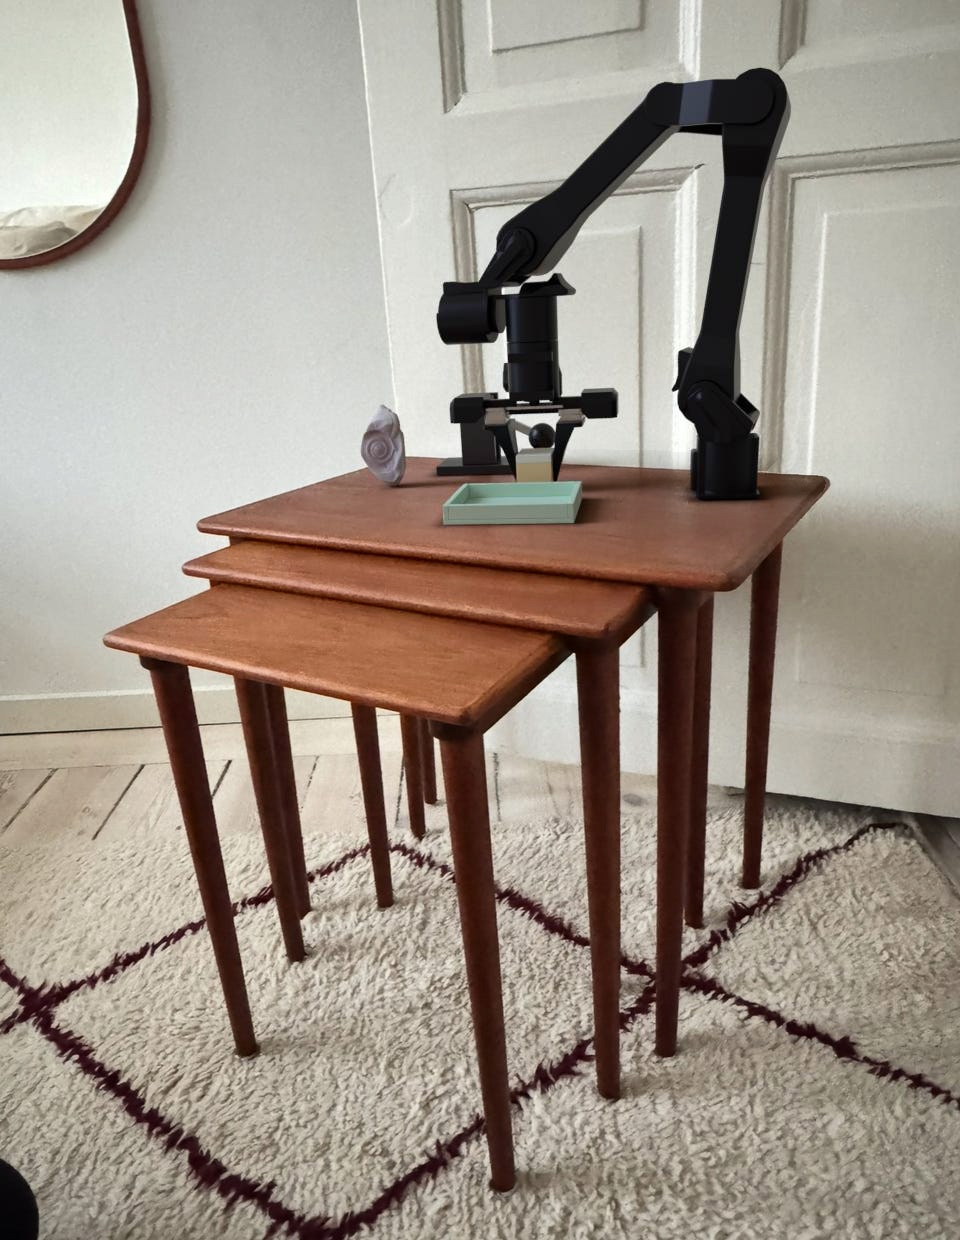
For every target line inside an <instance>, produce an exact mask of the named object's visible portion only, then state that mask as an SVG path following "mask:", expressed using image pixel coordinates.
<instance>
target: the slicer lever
mask: <svg viewBox="0 0 960 1240" xmlns="http://www.w3.org/2000/svg"><path fill="white" fill-rule="evenodd" d="M510 419H513V417H510ZM515 426H516V432H519V433H521V434H523V435H526V436H527V437H528V438H527V439H528V442H529V445H530V446H531V448H553V447H554V444H555V431H556V429H555V428H554V427H553V426H552V425H551V424H548V423H546V422H539V423H536V424H534V425H533V426H529V425H527V424H525V423H524V422H521V421H518V420H517V419H515Z"/></svg>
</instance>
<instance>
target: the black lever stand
mask: <svg viewBox="0 0 960 1240" xmlns="http://www.w3.org/2000/svg"><path fill="white" fill-rule="evenodd" d="M472 393H473V392H468V393H467V392H466V393H465V394H472ZM488 393H490V395H491V399H500V397H499V392H498V391H493V392H488ZM483 425H485V419H484V417H482V418H481V419H480V420H479V421H478V422H477V423H459V431H460V432H459V433H460V445H461V446H460V447H461V448H460V449H461V456H458V457H457V456H455V457H447V458H445V459H444V460H443V461H442V462H441V463H439V464H438V465H436V468H435V469H436V476H437V477H442V476H443V477H444V476H487V475H513V473H512V470H511V468H510V465H509V463H508V461H507V458H506V456H505V455H502V448H501V446H500V444H499V443H498V441H497V439H496V438H495V436H494V434H493V432H492V431H491V430H484V429H483Z"/></svg>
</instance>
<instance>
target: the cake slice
mask: <svg viewBox="0 0 960 1240" xmlns="http://www.w3.org/2000/svg"><path fill="white" fill-rule="evenodd" d="M518 452H519V453H518V454H517V455H516V463H517V464H516V469H517V482H516V483H521V482H554V479H553V457H554V447H551V448H533V447H531V448H529V447H527V448H526V447H525V448H521V449H520V450H519V451H518Z"/></svg>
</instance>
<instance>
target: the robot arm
mask: <svg viewBox="0 0 960 1240" xmlns="http://www.w3.org/2000/svg"><path fill="white" fill-rule="evenodd" d="M791 114H792V104H791V100H790V95H789V92H788V89H787V86H786V83H785V82H784V80H783V79H782V77H781V76H780V75H779V74H778V73H777V72H775V71H774V70H773V69H770V68H766V67H755V68H749V69H747V70H745V71H744V72H742V73H740V74H739V75H738V76H737V77H736V78H712V79H704V80H703V79H702V80H697V81H696V80H695V81H687V82H672V81H662V82H659V83H657V84H656V85H654V86H653V87H651V89H649V90H648V92H647V93H646V96H645V98H644V99H643V100H642V101H641V102H640V103H639V104H638V105H637V106H636V107H635V108H634V110H633V111H631V113H630V114H629V115H628V116H627V117H626V118H625V119H624V120H623V121H622V122H621V123H620V124H619V125H618V126H617V127H616V128H615V129H614V130H613V131H612V132H611V133H610V134H609V135H608V136H606V137H607V138H605V139H604V140H603V141H602V142H601V143H600V144H599V145H598V146H597V147H596V148H595V150H593V152H591V153H590V155H589V156H588V157H587V158H586V159H585V160H584V161H583V162H581V164H580V165H579V166H578V167H577V168H576V169H575V170H574V171H573V172H572V173H571V174H570V175H569V176H568V177H567V178H566V179H565V180H564V181H563V182H562V183H561V184H560V185H559V187H557V188H556V189H554V190H553V191H551V192H550V193H548V194H547V195H545V196H544V197H542V198H540V199H538V200H536V201H534V202H533V203H531V204H529V205H528V206H527V207H525V208H524V209H523V210H521V211H520V212H518V213H517V214H515V215H514V216H513V217H511V218H510V219H508V220H507V221H506V222H505V223H504V224H503V225H502V226H501V228H500V229H499V230H498V233H497V234H496V238H495V240H496V246H495V252H494V253H493V255H492V257H491V259H490V261H489V262H488V264H487V266H486V267H485V269H484V271H483V273H482V275H481V277H480V278H479V280H478V281H469V282H464V281H444V282H443V283H442V295H441V297H439V298H440V299H439V302H438V307H437V313H436V314H435V318H436V327H437V332H438V335H439V338H440V339H441V341H442V343H443V344H444V345H447V346H450V345H452V346H455V345H479V344H480V345H481V344H495V342H497V340H498V338H499V335H500V334H503V333H504V332H505V334H506V335H505V337H506V358H507V360H506V361H507V362H503V369H502V388H503V390H504V391H505V392H506V393H508V398H499V399H491V395H490V393H489V392H471V393H472V394H466V393H461V394H459V395H457V396H455V397H454V398H453V399H452V400H451V401H450V403H449V419H450V420H449V421H450V422H449V423H450V424H457V425H458V424H459V425H460V423H477V422H478V421H479V420H480V419H481V418H482V417H484V419H485V425H483V429H484V430H491V431H492V432H493V434H494V436H495V438H496V439H497V441H498V443H499V444H500V446H501V451H503V454H504V456H506V458H507V461H508V463H509V465H510V468H511V470H512V473H513V474H512V475H513V477H514V479H515V483H517V469H516V464H517V463H516V455H517V454H518V453H519V452H520V451H519V446H518V440H517V430H516V426H515V420H516V417H515V418H513V417H512V416H514V415H515V416H516V415H540V414H542V415H543V414H558V417H560V418H559V419H558V420H557V422H556V423H555V443H554V445H553V448H554V457H553V479H554V482H558V479H559V476H560V473H561V468H562V466H563V465H562V464H563V461H564V459H565V454H566V451H567V447H568V444H569V442H570V439H571V437H572V435H573V432H574V430H575V428H582V427H584V425H585V423H586V419H588V420H601V419H603V420H604V419H615V418H616V419H617V418H618V415H619V407H620V406H619V392H618V391H617V390H616V389H615V388H614V387H600V388H599V387H598V388H583V389H582V390H581V392H580V395H566V396H563V373H562V369H561V367H560V359H559V323H558V297H565V296H575V294H576V293H577V290H576V288H575V287H574V286H572V284H570V283H569V282H568V281H567V280H566V279H565V277H564V276H563V273H561V272H553V273H552V275H551V276H550V278H549V279H548V280H541V281H539V280H538V281H528V280H529V279H530V278H532V277H540V276H541V277H542V276H544V275H547V274H549V273H550V272H552V271H553V270H554V269H555V268H556V267H557V265H558V264H559V263H560V261H561V260H562V259H563V257H564V256H565V255H566V253H567V251H568V250H569V249H570V248H571V246H572V245H573V244H574V241H575V240H576V238H577V236H578V234H579V232H580V231H581V228H582V227H583V225H584V224H585V223H586V221H587V220H588V219H589V218H590V217H591V215H592V214H593V213H595V212H596V211H597V209H598V208H600V206H602V204H604V203H605V201H607V200H608V199H609V198H610V196H612V195H613V194H614V193H615V192H616V191H617V190H618V189H619V188H620V187H621V186H622V185H623V184H624V183H625V182H626V181H627V180H628V179H629V178H630V177H631V176H632V175H633V174H634V173H635V172H637V171H638V169H640V167H641V166H642V165H643V164H644V163H645V162H646V161H647V160H649V158H650V157H652V155H653V154H655V153H656V151H658V149H659V148H661V147H662V146H663V145H664V144H665V142H667V141H668V140H669V139H670V138H671V137H672V136H673V135H675V134H695V135H705V136H715V137H721V149H722V165H723V187H722V191H721V199H720V205H719V211H718V217H717V225H716V230H715V231H716V232H715V236H714V242H713V243H714V244H713V249H712V256H711V263H710V267H709V275H708V276H709V277H708V281H707V288H706V292H705V300H704V306H703V313H702V319H701V325H700V330H699V334H698V336H697V339H696V341H695V344H694V346H693V347H690V346H688V347H685V348H682V349H680V350H679V351H678V352H677V376H676V380H675V383H674V384H673V386H672V388H671V392H673V393H675V392H676V391H677V395H676V396H677V397H676V398H677V399H676V401H677V407H678V410H679V411H680V413H681V414H682V415H683V417H684V418H685V420H687V421H689V422H690V423H692V424H693V426H694V427H695V428H694V429H695V431H696V446H695V447H696V448H691V450H690V467H689V487H690V488H689V489H690V491H692V492H694V496H695V499H697V500H713V499H714V500H717V499H719V500H720V499H721V500H722V499H723V500H725V499H759V498H760V495H761V494H760V491H759V490H758V479H759V475H758V474H759V457H760V435H758V433H757V432H753V431H754V429H755V427H756V425H757V422H758V420H759V417H760V415H761V411H760V410H759V409H758V407H756V406H755V405H754V404H753V403H752V401H750V399H748V397H746V396H745V395H744V394H743V393H742V392H741V390H742V387H741V386H742V384H741V383H742V380H741V379H742V377H741V376H742V360H741V359H742V357H741V342H740V329H741V324H742V319H743V313H744V308H745V301H746V296H747V291H748V284H749V280H750V279H749V278H750V272H751V267H752V260H753V255H754V250H755V244H756V240H757V239H756V238H757V232H758V228H759V221H760V215H761V209H762V205H763V198H764V192H765V188H766V185H767V182H768V179H769V176H770V174H771V172H772V169H773V168H774V164H775V162H776V160H777V157H778V154H779V152H780V149H781V145H782V142H783V140H784V137H785V133H786V132H787V128H788V125H789V123H790V118H791ZM527 281H528V282H527ZM519 287H520V288H519ZM504 288H505V289H506V288H519V291H518V292H517V293H503V291H502V290H503V289H504ZM541 401H542V402H541ZM546 401H547V402H546ZM518 402H519V403H518ZM510 418H512V419H510Z"/></svg>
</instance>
